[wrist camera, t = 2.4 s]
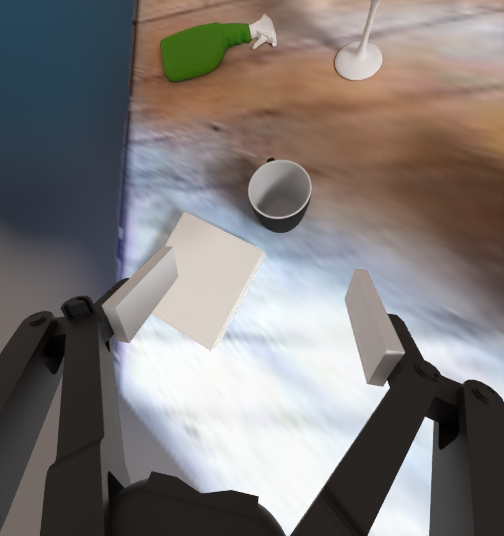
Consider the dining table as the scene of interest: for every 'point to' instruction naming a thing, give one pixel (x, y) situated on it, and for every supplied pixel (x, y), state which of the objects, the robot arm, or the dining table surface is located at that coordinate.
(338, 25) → the dining table surface
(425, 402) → the robot arm
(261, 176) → the mug
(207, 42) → the spray bottle
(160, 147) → the dining table surface
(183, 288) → the flat plate
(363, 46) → the wineglass
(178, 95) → the dining table surface
